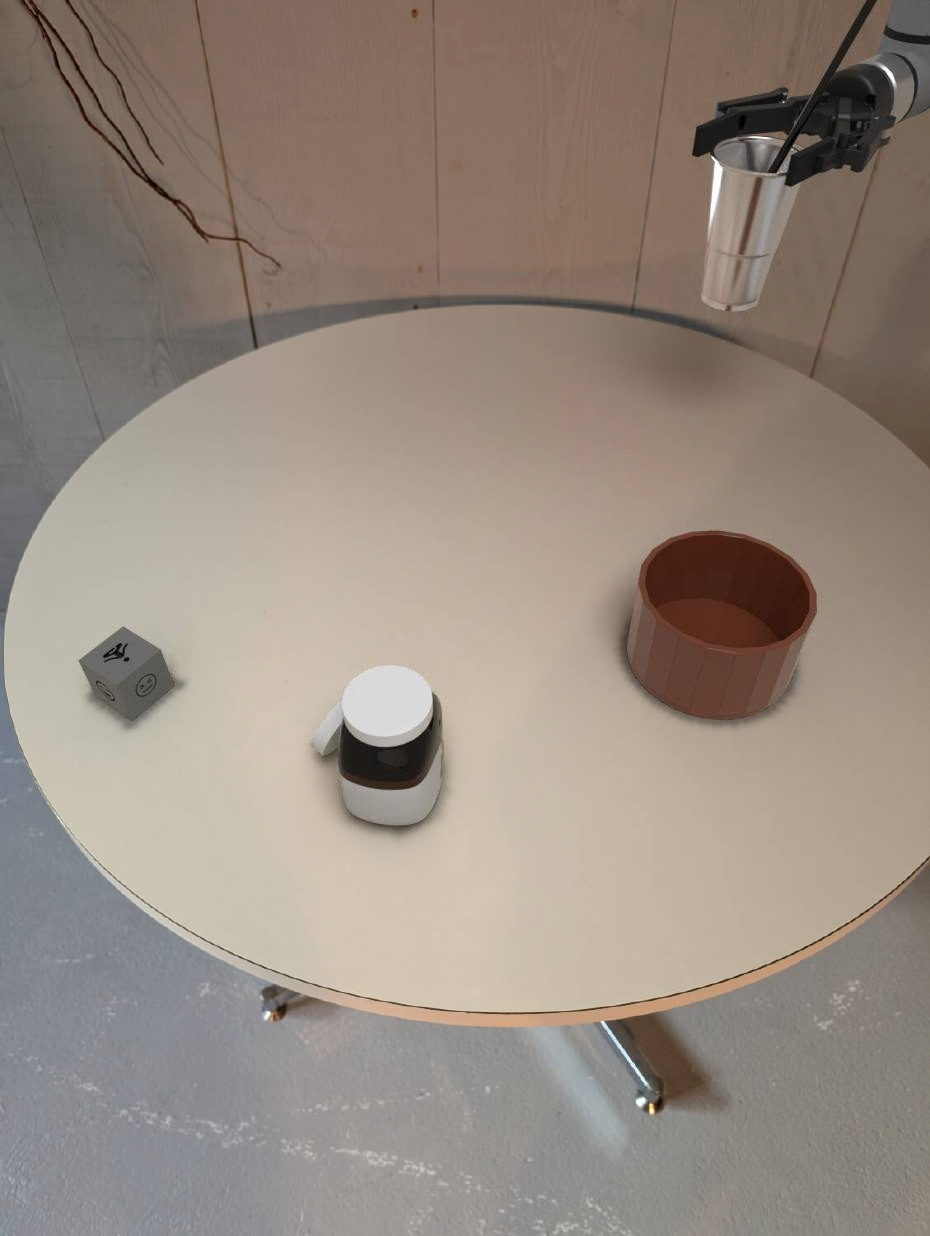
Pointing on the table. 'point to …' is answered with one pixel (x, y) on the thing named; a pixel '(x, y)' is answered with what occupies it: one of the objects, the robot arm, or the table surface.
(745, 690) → the crock
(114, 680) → the dice cube
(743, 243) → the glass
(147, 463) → the table surface
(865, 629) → the table surface
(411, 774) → the spread jar
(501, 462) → the table surface
